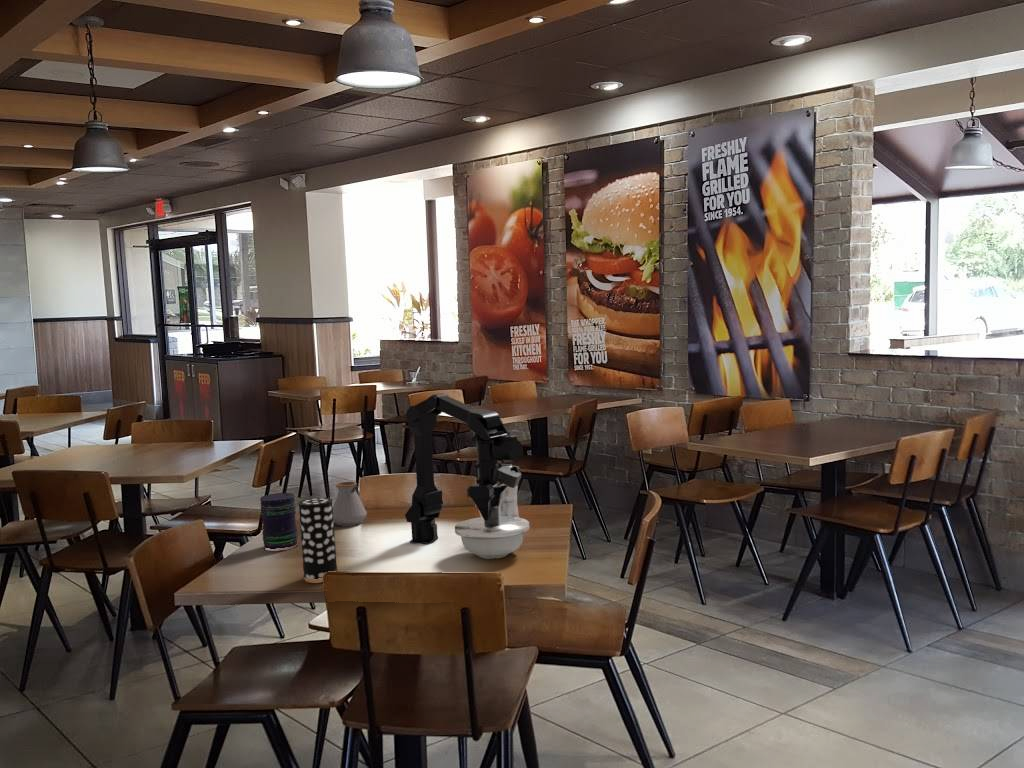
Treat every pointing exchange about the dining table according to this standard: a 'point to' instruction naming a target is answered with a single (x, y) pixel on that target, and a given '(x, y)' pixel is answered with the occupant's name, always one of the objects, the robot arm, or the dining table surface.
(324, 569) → the white-spotted black cylinder
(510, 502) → the plastic bottle
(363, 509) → the coffee pot
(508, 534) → the steel lid
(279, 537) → the storage jar
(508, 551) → the cereal bowl
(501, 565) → the dining table surface
